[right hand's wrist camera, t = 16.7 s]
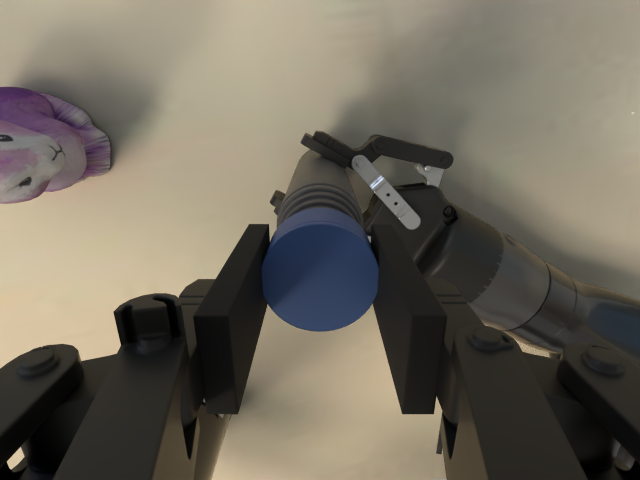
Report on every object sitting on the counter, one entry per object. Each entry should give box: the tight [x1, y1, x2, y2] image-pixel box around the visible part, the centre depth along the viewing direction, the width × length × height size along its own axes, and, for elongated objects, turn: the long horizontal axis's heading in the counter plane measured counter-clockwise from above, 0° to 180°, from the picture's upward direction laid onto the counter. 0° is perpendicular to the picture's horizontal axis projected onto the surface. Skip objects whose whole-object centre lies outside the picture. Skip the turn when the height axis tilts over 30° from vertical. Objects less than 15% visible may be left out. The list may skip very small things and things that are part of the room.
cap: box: [262, 208, 379, 332], centre depth 13 cm, size 4×4×2 cm
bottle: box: [277, 150, 363, 228], centre depth 23 cm, size 4×4×22 cm
